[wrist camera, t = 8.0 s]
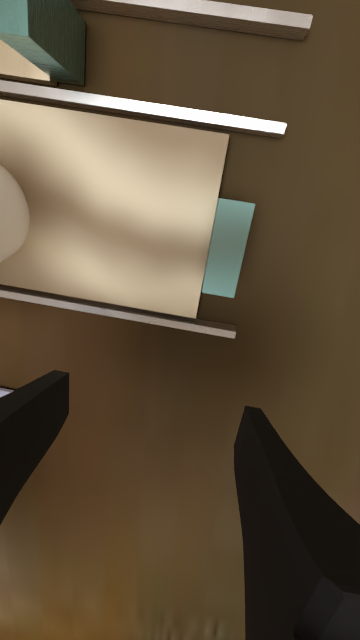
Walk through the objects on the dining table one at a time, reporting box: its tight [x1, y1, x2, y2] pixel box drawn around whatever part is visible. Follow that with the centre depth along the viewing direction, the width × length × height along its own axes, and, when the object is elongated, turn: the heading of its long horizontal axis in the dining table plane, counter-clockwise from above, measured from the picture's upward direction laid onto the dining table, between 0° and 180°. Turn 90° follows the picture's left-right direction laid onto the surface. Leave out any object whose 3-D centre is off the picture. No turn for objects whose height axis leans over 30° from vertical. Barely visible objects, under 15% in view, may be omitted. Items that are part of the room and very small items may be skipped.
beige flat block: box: [0, 99, 255, 319], centre depth 17 cm, size 11×23×6 cm, turn 81°
